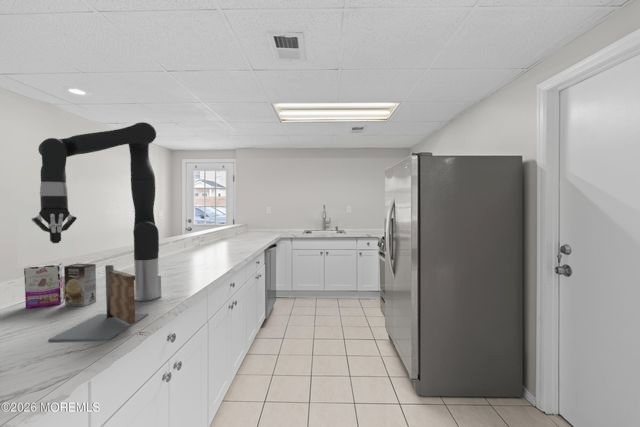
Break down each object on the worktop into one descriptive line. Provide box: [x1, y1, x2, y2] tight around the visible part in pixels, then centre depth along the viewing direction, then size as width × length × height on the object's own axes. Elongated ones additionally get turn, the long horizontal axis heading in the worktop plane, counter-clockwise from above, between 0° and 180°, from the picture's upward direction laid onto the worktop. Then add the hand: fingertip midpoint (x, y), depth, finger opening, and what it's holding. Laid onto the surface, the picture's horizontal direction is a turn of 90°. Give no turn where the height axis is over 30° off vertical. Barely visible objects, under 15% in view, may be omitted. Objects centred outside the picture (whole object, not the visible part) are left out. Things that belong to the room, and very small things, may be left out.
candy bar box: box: [23, 263, 65, 310], centre depth 130 cm, size 11×5×16 cm, turn 117°
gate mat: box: [47, 313, 149, 342], centre depth 106 cm, size 22×18×1 cm
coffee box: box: [63, 263, 97, 307], centre depth 131 cm, size 9×6×16 cm
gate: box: [108, 269, 136, 324], centre depth 108 cm, size 16×2×15 cm, turn 53°
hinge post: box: [104, 264, 115, 318], centre depth 114 cm, size 2×2×19 cm
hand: (55, 243), depth 115 cm, fingers closed
